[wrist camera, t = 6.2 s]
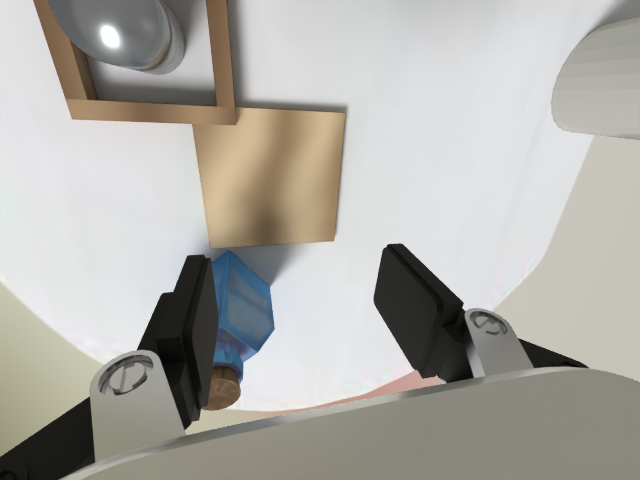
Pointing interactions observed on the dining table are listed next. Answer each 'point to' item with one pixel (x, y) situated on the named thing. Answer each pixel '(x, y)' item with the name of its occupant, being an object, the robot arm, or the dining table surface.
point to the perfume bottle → (237, 326)
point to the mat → (270, 176)
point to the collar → (88, 107)
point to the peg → (123, 32)
